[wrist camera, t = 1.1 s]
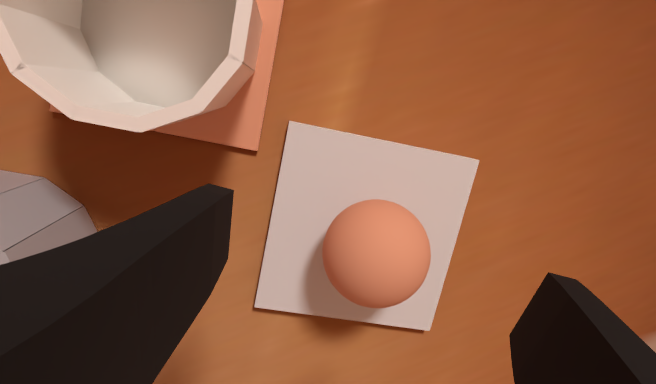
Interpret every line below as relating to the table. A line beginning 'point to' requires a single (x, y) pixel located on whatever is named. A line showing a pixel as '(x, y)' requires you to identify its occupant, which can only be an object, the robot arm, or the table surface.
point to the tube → (148, 62)
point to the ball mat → (343, 191)
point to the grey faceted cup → (37, 216)
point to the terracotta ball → (376, 253)
